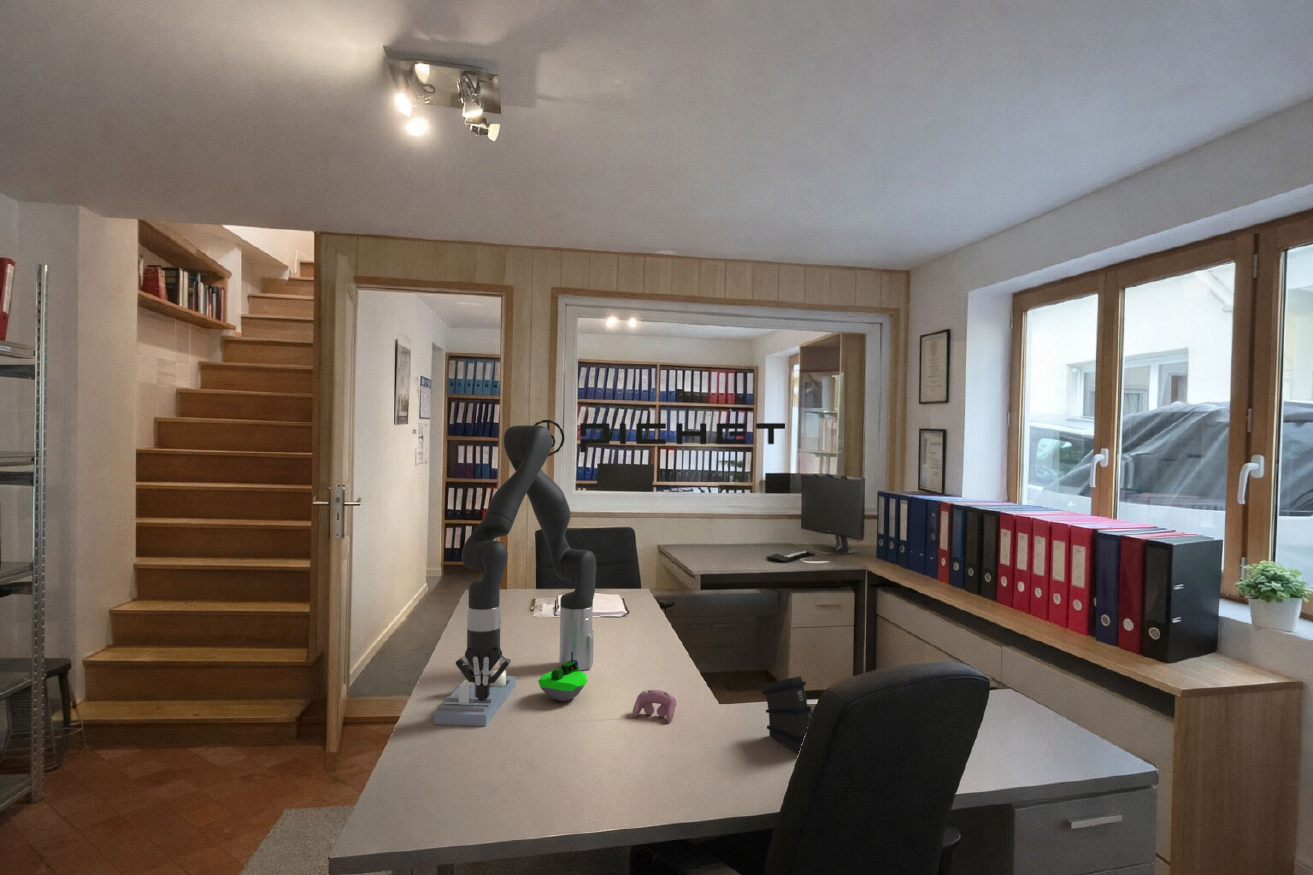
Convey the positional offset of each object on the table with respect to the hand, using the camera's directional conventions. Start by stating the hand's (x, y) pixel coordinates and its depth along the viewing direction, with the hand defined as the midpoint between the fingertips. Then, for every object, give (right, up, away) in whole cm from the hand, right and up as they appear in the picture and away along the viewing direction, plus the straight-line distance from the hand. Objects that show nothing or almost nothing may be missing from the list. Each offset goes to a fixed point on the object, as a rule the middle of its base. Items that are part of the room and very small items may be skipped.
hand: (482, 699), depth 165 cm
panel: (-3, -4, +8) cm, 10 cm away
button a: (0, -4, +15) cm, 16 cm away
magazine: (+69, -5, -11) cm, 70 cm away
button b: (-6, -1, +15) cm, 17 cm away
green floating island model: (+17, -5, +12) cm, 21 cm away
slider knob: (-4, -1, 0) cm, 4 cm away
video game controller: (+40, -5, +2) cm, 40 cm away
